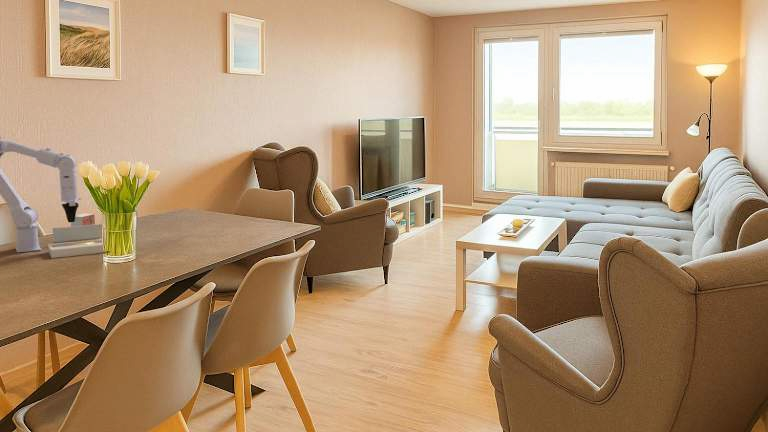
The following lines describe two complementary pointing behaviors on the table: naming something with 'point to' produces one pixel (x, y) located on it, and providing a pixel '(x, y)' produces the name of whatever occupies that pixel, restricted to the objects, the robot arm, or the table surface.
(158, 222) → the table surface
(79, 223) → the small box
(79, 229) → the cover
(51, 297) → the table surface
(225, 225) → the table surface
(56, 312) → the table surface
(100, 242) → the white sliding drawer case
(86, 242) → the yellow rounded bar
